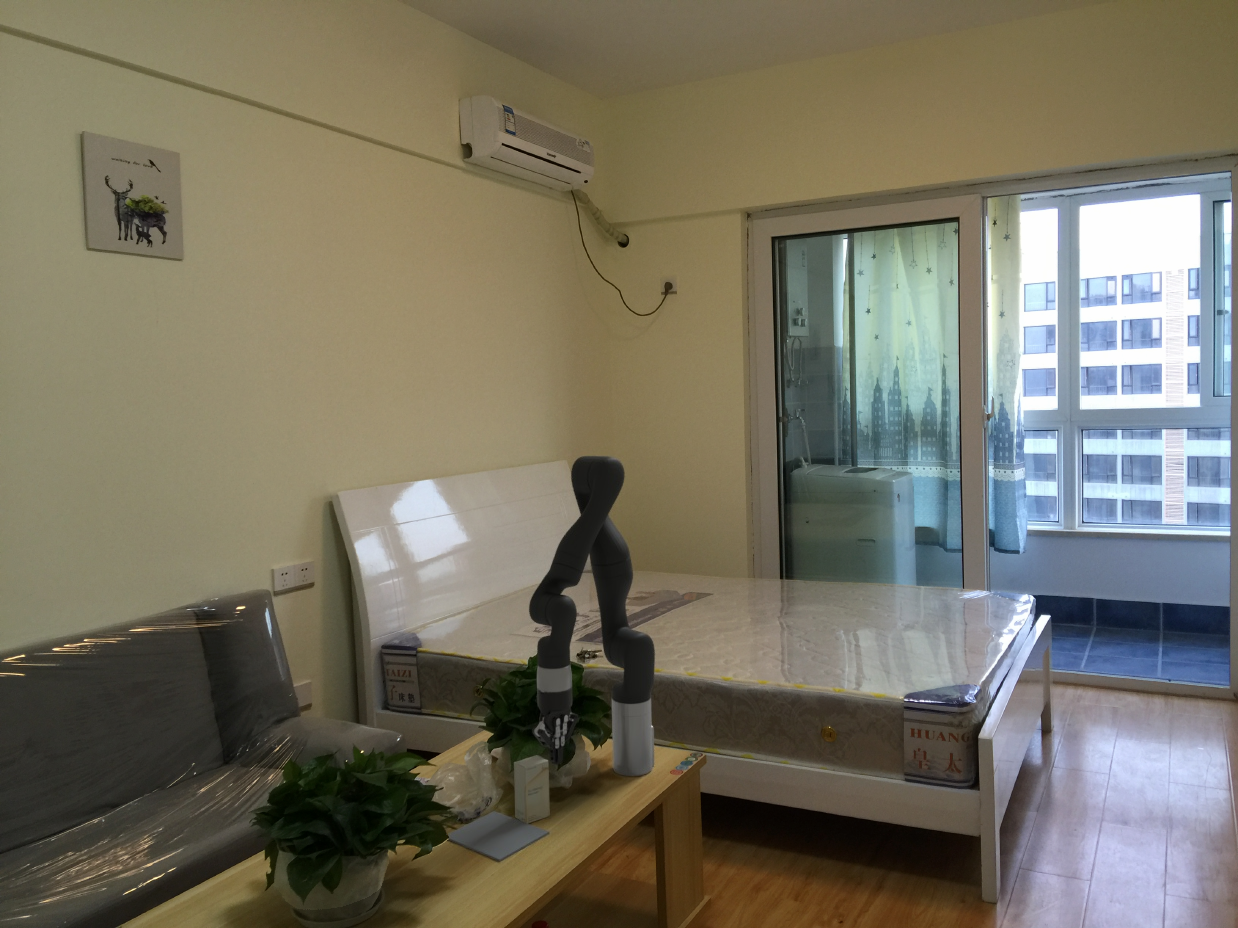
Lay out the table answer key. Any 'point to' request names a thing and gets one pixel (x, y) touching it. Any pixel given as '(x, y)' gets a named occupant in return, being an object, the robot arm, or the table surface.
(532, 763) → the skincare box
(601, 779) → the table surface
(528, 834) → the slate mat
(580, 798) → the table surface
